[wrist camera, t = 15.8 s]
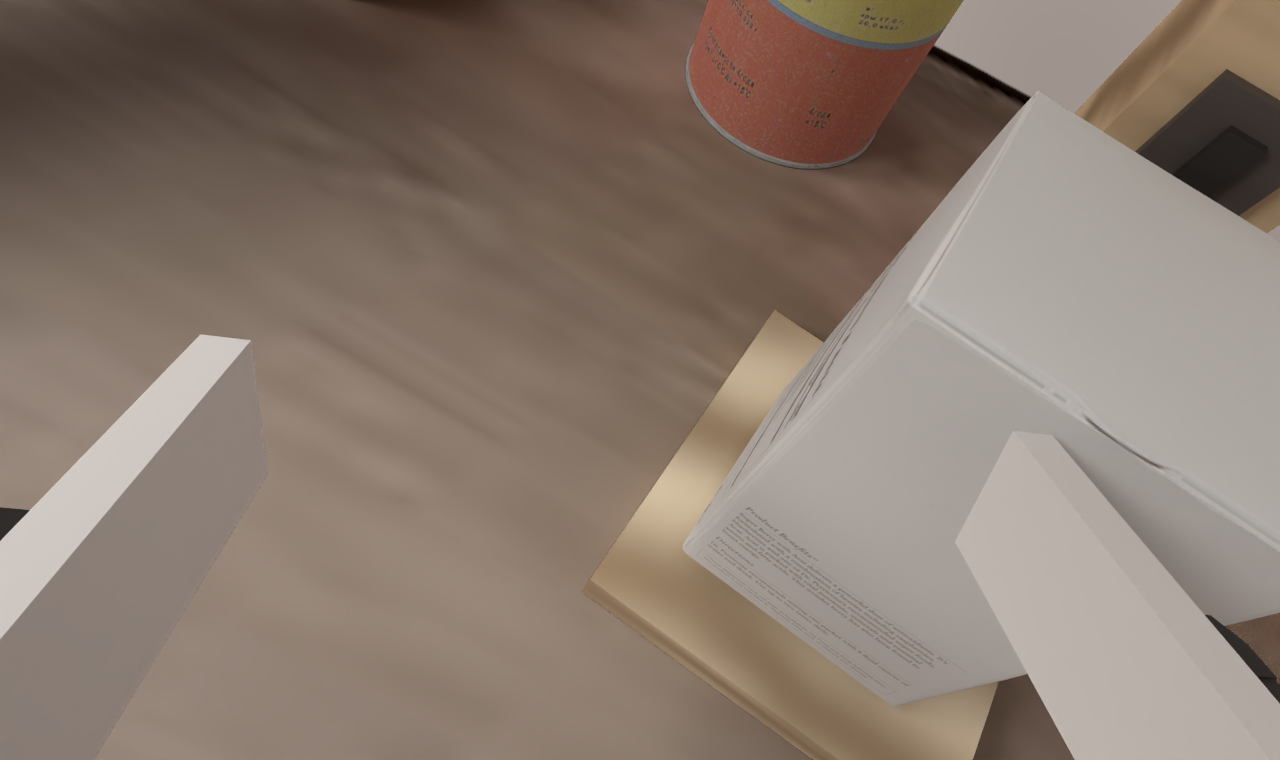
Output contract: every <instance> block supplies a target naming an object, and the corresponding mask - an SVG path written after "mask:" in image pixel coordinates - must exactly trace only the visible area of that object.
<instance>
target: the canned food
mask: <svg viewBox="0 0 1280 760" xmlns="http://www.w3.org/2000/svg"><path fill="white" fill-rule="evenodd" d="M962 2H963V0H708V2H707V5H706V8H705V11H704V14H703V17H702V20H701V23H700V26H699V29H698V32H697V35H696V38H695V41H694V43H693V45H692V47H691V49H690V51H689V54H688V57H687V62H686V80H687V85H688V88H689V91H690V94H691V96H692V98H693V100H694V102H695V104H696V106H697V107H698V109H699V110H700V112H701V113H702V115H703V116H704V117H705V118H706V120H707V121H708V122H709V123H710V124H711V125H712V126H713V127H714V128H715V129H716V130H717V131H718V132H719V133H720V134H722V135H723V136H724V137H725V138H726V139H728V140H729V141H731V142H732V143H733V144H735V145H736V146H738V147H740V148H741V149H743V150H745V151H747V152H748V153H750V154H752V155H755V156H757V157H759V158H761V159H764V160H767V161H769V162H772V163H776V164H779V165H783V166H788V167H794V168H801V169H823V168H830V167H835V166H839V165H842V164H845V163H847V162H849V161H851V160H853V159H855V158H856V157H858V156H859V155H860V154H861V153H863V152H864V151H865V150H866V149H867V147H868V146H869V145H870V143H871V142H872V140H873V139H874V137H875V134H876V132H877V130H878V128H879V127H880V125H881V124H882V122H883V121H884V119H885V118H886V116H887V115H888V113H889V112H890V110H891V108H892V107H893V105H894V104H895V102H896V101H897V99H898V98H899V96H900V95H901V93H902V92H903V90H904V89H905V87H906V86H907V84H908V83H909V81H910V80H911V78H912V77H913V75H914V74H915V72H916V71H917V69H918V68H919V66H920V65H921V63H922V62H923V60H924V59H925V57H926V56H927V54H928V53H929V51H930V50H931V48H932V47H933V45H934V44H935V42H936V41H937V39H938V38H939V36H940V35H941V33H942V32H943V30H944V29H945V27H946V26H947V24H948V23H949V21H950V20H951V18H952V17H953V15H954V13H955V12H956V11H957V9H958V8H959V6H960V5H961V3H962Z"/></svg>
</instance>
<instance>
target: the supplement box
mask: <svg viewBox="0 0 1280 760" xmlns="http://www.w3.org/2000/svg"><path fill="white" fill-rule="evenodd" d="M1013 431H1021V432H1029V433H1038V434H1046V435H1053V437H1054V438H1055V439H1056V440H1057V441H1058V443H1059V444H1060V445H1061V446H1062V447H1063V448H1064V450H1065V451H1066V452H1067V453H1068V454H1069V456H1070V457H1071V458H1072V459H1073V460H1074V461H1075V463H1076V464H1077V465H1078V466H1079V467H1080V469H1081V470H1082V471H1083V472H1084V473H1085V474H1086V476H1087V477H1088V478H1089V479H1090V480H1091V481H1092V483H1093V484H1094V485H1095V486H1096V487H1097V489H1098V490H1099V491H1100V492H1101V493H1102V494H1103V496H1104V497H1105V498H1106V499H1107V500H1108V502H1109V503H1110V504H1111V505H1112V506H1113V507H1114V509H1115V510H1116V511H1117V512H1118V513H1119V515H1120V516H1121V517H1122V518H1123V519H1124V520H1125V522H1126V523H1127V524H1128V525H1129V526H1130V528H1131V529H1132V530H1133V531H1134V532H1135V533H1136V535H1137V536H1138V537H1139V538H1140V539H1141V540H1142V542H1143V543H1144V544H1145V545H1146V546H1147V548H1148V549H1149V550H1150V551H1151V552H1152V553H1153V555H1154V556H1155V557H1156V558H1157V559H1158V561H1159V562H1160V563H1161V564H1162V565H1163V566H1164V568H1165V569H1166V570H1167V571H1168V572H1169V574H1170V575H1171V576H1172V577H1173V578H1174V579H1175V581H1176V582H1177V583H1178V584H1179V585H1180V586H1181V588H1182V589H1183V590H1184V591H1185V592H1186V594H1187V595H1188V596H1189V597H1190V598H1191V599H1192V601H1193V602H1194V603H1195V604H1196V605H1197V607H1198V608H1199V609H1200V610H1201V611H1202V612H1203V614H1204V615H1211V616H1212V617H1214V618H1215V619H1216V620H1217V621H1219V622H1220V623H1221V624H1222V625H1224V626H1226V625H1230V624H1235V623H1239V622H1244V621H1248V620H1252V619H1256V618H1260V617H1264V616H1268V615H1272V614H1276V613H1280V241H1278V240H1276V239H1275V238H1273V237H1272V236H1270V235H1268V234H1267V233H1265V232H1263V231H1262V230H1260V229H1259V228H1257V227H1255V226H1254V225H1252V224H1251V223H1249V222H1247V221H1246V220H1244V219H1243V218H1241V217H1239V216H1238V215H1236V214H1235V213H1233V212H1231V211H1230V210H1228V209H1226V208H1225V207H1223V206H1222V205H1220V204H1218V203H1217V202H1215V201H1213V200H1212V199H1210V198H1209V197H1207V196H1205V195H1204V194H1202V193H1200V192H1199V191H1197V190H1196V189H1194V188H1192V187H1191V186H1189V185H1187V184H1186V183H1184V182H1182V181H1181V180H1179V179H1178V178H1176V177H1174V176H1173V175H1171V174H1170V173H1168V172H1166V171H1165V170H1163V169H1162V168H1160V167H1158V166H1157V165H1155V164H1154V163H1152V162H1150V161H1149V160H1147V159H1146V158H1144V157H1142V156H1141V155H1139V154H1138V153H1136V152H1134V151H1133V150H1131V149H1130V148H1128V147H1126V146H1125V145H1123V144H1122V143H1120V142H1119V141H1117V140H1115V139H1114V138H1112V137H1111V136H1109V135H1107V134H1106V133H1104V132H1103V131H1101V130H1100V129H1098V128H1096V127H1095V126H1093V125H1092V124H1090V123H1089V122H1087V121H1085V120H1084V119H1082V118H1080V117H1079V116H1077V115H1076V114H1074V113H1072V112H1071V111H1069V110H1068V109H1066V108H1065V107H1063V106H1062V105H1060V104H1059V103H1057V102H1055V101H1054V100H1053V99H1051V98H1050V97H1048V96H1047V95H1045V94H1044V93H1042V92H1041V91H1037V92H1036V93H1034V94H1033V96H1032V97H1031V98H1030V99H1029V101H1028V102H1027V103H1026V104H1025V105H1024V106H1023V107H1022V108H1021V109H1020V110H1019V111H1018V112H1017V113H1016V115H1015V116H1014V117H1013V118H1012V119H1011V120H1010V121H1009V123H1008V124H1007V125H1006V126H1005V127H1004V128H1003V130H1002V131H1001V132H1000V133H999V134H998V135H997V136H996V138H995V139H994V140H993V141H992V142H991V144H990V145H989V146H988V147H987V148H986V149H985V151H984V152H983V153H982V154H981V155H980V157H979V158H978V159H977V160H976V161H975V162H974V164H973V165H972V166H971V167H970V168H969V170H968V171H967V172H966V173H965V174H964V175H963V177H962V178H961V179H960V180H959V181H958V183H957V184H956V185H955V186H954V187H953V189H952V190H951V191H950V192H949V193H948V195H947V196H946V197H945V198H944V199H943V201H942V202H941V203H940V204H939V206H938V207H937V208H936V209H935V210H934V212H933V213H932V214H931V215H930V216H929V218H928V219H927V220H926V221H925V223H924V224H923V225H922V226H921V227H920V228H919V230H918V231H917V232H916V233H915V234H914V236H913V237H912V238H911V239H910V240H909V242H908V243H907V244H906V245H905V246H904V247H903V249H902V250H901V251H900V252H899V253H898V255H897V256H896V257H895V258H894V259H893V261H892V262H891V263H890V264H889V265H888V267H887V268H886V269H885V270H884V271H883V273H882V274H881V275H880V276H879V277H878V279H877V280H876V281H875V282H874V283H873V285H872V286H871V287H870V288H869V289H868V291H867V292H866V293H865V294H864V295H863V297H862V298H861V299H860V300H859V301H858V303H857V304H856V305H855V306H854V307H853V308H852V310H851V311H850V312H849V313H848V314H847V316H846V317H845V318H844V319H843V320H842V321H841V323H840V324H839V325H838V326H837V327H836V329H835V330H834V331H833V332H832V333H831V335H830V336H829V337H828V338H827V339H826V340H825V342H824V343H823V344H822V345H821V346H820V348H819V349H818V350H817V351H816V352H815V353H814V355H813V356H812V357H811V358H810V359H809V361H808V362H807V363H806V364H805V365H804V366H803V368H802V369H801V370H800V371H799V372H798V374H797V375H796V376H795V377H794V378H793V379H792V380H791V382H790V383H789V384H788V385H787V386H786V387H785V388H784V390H783V391H782V392H781V394H780V395H779V397H778V398H777V400H776V401H775V403H774V404H773V406H772V408H771V409H770V411H769V412H768V414H767V415H766V417H765V418H764V420H763V421H762V423H761V424H760V426H759V428H758V429H757V431H756V432H755V434H754V435H753V437H752V438H751V440H750V441H749V443H748V445H747V446H746V448H745V449H744V451H743V452H742V454H741V455H740V457H739V458H738V460H737V462H736V463H735V465H734V466H733V468H732V469H731V471H730V472H729V474H728V475H727V477H726V478H725V480H724V481H723V483H722V485H721V486H720V488H719V489H718V491H717V492H716V494H715V495H714V497H713V498H712V500H711V501H710V503H709V504H708V506H707V507H706V509H705V511H704V512H703V514H702V515H701V517H700V518H699V520H698V521H697V523H696V524H695V526H694V527H693V529H692V531H691V532H690V534H689V535H688V537H687V539H686V540H685V542H684V543H683V550H684V551H685V553H686V554H687V555H689V556H690V557H691V558H692V559H694V560H695V561H696V562H698V563H699V564H701V565H702V566H703V567H705V568H706V569H707V570H709V571H710V572H711V573H713V574H714V575H715V576H717V577H718V578H719V579H721V580H722V581H723V582H725V583H726V584H727V585H729V586H730V587H731V588H733V589H734V590H735V591H737V592H738V593H740V594H741V595H742V596H744V597H745V598H746V599H748V600H749V601H750V602H752V603H753V604H754V605H756V606H757V607H758V608H760V609H761V610H762V611H764V612H765V613H766V614H768V615H769V616H771V617H772V618H773V619H775V620H776V621H777V622H779V623H780V624H781V625H783V626H784V627H785V628H787V629H788V630H789V631H791V632H792V633H793V634H795V635H796V636H797V637H799V638H800V639H801V640H803V641H804V642H805V643H807V644H808V645H809V646H811V647H812V648H813V649H815V650H816V651H817V652H819V653H820V654H821V655H823V656H824V657H826V658H827V659H828V660H830V661H831V662H832V663H834V664H835V665H836V666H838V667H839V668H840V669H842V670H843V671H844V672H846V673H847V674H848V675H850V676H851V677H853V678H854V679H855V680H857V681H858V682H859V683H861V684H862V685H863V686H865V687H866V688H867V689H869V690H870V691H871V692H873V693H874V694H876V695H877V696H878V697H880V698H881V699H882V700H884V701H885V702H887V703H888V704H890V705H892V706H900V705H904V704H908V703H912V702H916V701H920V700H924V699H928V698H932V697H936V696H941V695H945V694H949V693H953V692H957V691H961V690H965V689H969V688H973V687H977V686H982V685H987V684H990V683H994V682H998V681H1002V680H1007V679H1010V678H1014V677H1018V676H1022V675H1026V674H1027V672H1026V670H1025V668H1024V666H1023V665H1022V663H1021V661H1020V659H1019V657H1018V656H1017V654H1016V652H1015V650H1014V648H1013V646H1012V645H1011V643H1010V641H1009V639H1008V637H1007V636H1006V634H1005V632H1004V630H1003V628H1002V626H1001V625H1000V623H999V621H998V619H997V617H996V616H995V614H994V612H993V610H992V608H991V606H990V605H989V603H988V601H987V599H986V597H985V595H984V594H983V592H982V590H981V588H980V586H979V585H978V583H977V581H976V579H975V577H974V575H973V574H972V572H971V570H970V568H969V566H968V565H967V563H966V561H965V559H964V557H963V555H962V554H961V552H960V550H959V548H958V546H957V545H956V543H955V541H956V539H957V537H958V535H959V533H960V531H961V529H962V527H963V526H964V524H965V522H966V520H967V518H968V516H969V514H970V512H971V510H972V508H973V506H974V504H975V503H976V501H977V499H978V497H979V495H980V493H981V491H982V489H983V487H984V485H985V483H986V481H987V480H988V478H989V476H990V474H991V472H992V470H993V468H994V466H995V464H996V462H997V460H998V459H999V457H1000V455H1001V453H1002V451H1003V449H1004V447H1005V445H1006V443H1007V441H1008V439H1009V437H1010V436H1011V434H1012V432H1013Z"/></svg>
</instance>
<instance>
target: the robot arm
mask: <svg viewBox="0 0 1280 760" xmlns="http://www.w3.org/2000/svg"><path fill="white" fill-rule="evenodd" d="M267 474H268V471H267V463H266V455H265V447H264V439H263V432H262V424H261V416H260V408H259V400H258V393H257V385H256V377H255V369H254V361H253V353H252V346H251V340H243V339H234V338H226V337H217V336H209V335H199V337H198V338H197V339H196V340H195V341H194V342H193V343H192V344H191V345H190V346H189V347H188V348H187V349H186V350H185V351H184V352H183V353H182V354H181V355H180V356H179V357H178V358H177V359H176V360H175V361H174V362H173V363H172V364H171V365H170V366H169V367H168V368H167V370H166V371H165V372H164V373H163V374H162V375H161V376H160V377H159V378H158V379H157V380H156V381H155V382H154V383H153V384H152V385H151V386H150V387H149V388H148V389H147V390H146V391H145V392H144V393H143V394H142V395H141V396H140V397H139V398H138V399H137V400H136V401H135V402H134V404H133V405H132V406H131V407H130V408H129V409H128V410H127V411H126V412H125V413H124V414H123V415H122V416H121V417H120V418H119V419H118V420H117V421H116V422H115V423H114V424H113V425H112V426H111V427H110V428H109V429H108V430H107V431H106V432H105V433H104V434H103V435H102V437H101V438H100V439H99V440H98V441H97V442H96V443H95V444H94V445H93V446H92V447H91V448H90V449H89V450H88V451H87V452H86V453H85V454H84V455H83V456H82V457H81V458H80V459H79V460H78V461H77V462H76V463H75V464H74V465H73V466H72V467H71V468H70V469H69V471H68V472H67V473H66V474H65V475H64V476H63V477H62V478H61V479H60V480H59V481H58V482H57V483H56V484H55V485H54V486H53V487H52V488H51V489H50V490H49V491H48V492H47V493H46V494H45V495H44V496H43V497H42V498H41V499H40V500H39V501H38V502H37V504H36V505H35V506H34V507H33V508H32V509H31V510H22V509H11V508H0V760H94V758H95V757H96V755H97V754H98V752H99V750H100V749H101V747H102V745H103V744H104V742H105V740H106V739H107V737H108V735H109V734H110V732H111V731H112V729H113V727H114V726H115V724H116V722H117V721H118V719H119V717H120V716H121V714H122V712H123V711H124V709H125V708H126V706H127V704H128V703H129V701H130V699H131V698H132V696H133V694H134V693H135V691H136V689H137V688H138V686H139V685H140V683H141V681H142V680H143V678H144V676H145V675H146V673H147V671H148V670H149V668H150V667H151V665H152V663H153V662H154V660H155V658H156V657H157V655H158V653H159V652H160V650H161V648H162V647H163V645H164V644H165V642H166V640H167V639H168V637H169V635H170V634H171V632H172V630H173V629H174V627H175V625H176V624H177V622H178V621H179V619H180V617H181V616H182V614H183V612H184V611H185V609H186V607H187V606H188V604H189V602H190V601H191V599H192V598H193V596H194V594H195V593H196V591H197V589H198V588H199V586H200V584H201V583H202V581H203V579H204V578H205V576H206V575H207V573H208V571H209V570H210V568H211V566H212V565H213V563H214V561H215V560H216V558H217V556H218V555H219V553H220V552H221V550H222V548H223V547H224V545H225V543H226V542H227V540H228V538H229V537H230V535H231V534H232V532H233V530H234V529H235V527H236V525H237V524H238V522H239V520H240V519H241V517H242V515H243V514H244V512H245V511H246V509H247V507H248V506H249V504H250V502H251V501H252V499H253V497H254V496H255V494H256V492H257V491H258V489H259V488H260V486H261V484H262V483H263V481H264V479H265V478H266V476H267ZM955 543H956V545H957V546H958V548H959V550H960V552H961V554H962V555H963V557H964V559H965V561H966V563H967V565H968V566H969V568H970V570H971V572H972V574H973V575H974V577H975V579H976V581H977V583H978V585H979V586H980V588H981V590H982V592H983V594H984V595H985V597H986V599H987V601H988V603H989V605H990V606H991V608H992V610H993V612H994V614H995V616H996V617H997V619H998V621H999V623H1000V625H1001V626H1002V628H1003V630H1004V632H1005V634H1006V636H1007V637H1008V639H1009V641H1010V643H1011V645H1012V646H1013V648H1014V650H1015V652H1016V654H1017V656H1018V657H1019V659H1020V661H1021V663H1022V665H1023V666H1024V668H1025V670H1026V672H1027V674H1028V676H1029V677H1030V679H1031V681H1032V683H1033V685H1034V687H1035V688H1036V690H1037V692H1038V694H1039V696H1040V697H1041V699H1042V701H1043V703H1044V705H1045V707H1046V708H1047V710H1048V712H1049V714H1050V716H1051V717H1052V719H1053V721H1054V723H1055V725H1056V727H1057V728H1058V730H1059V732H1060V734H1061V736H1062V737H1063V739H1064V741H1065V743H1066V745H1067V747H1068V748H1069V750H1070V752H1071V754H1072V756H1073V758H1074V759H1075V760H1280V684H1277V682H1276V679H1277V678H1276V676H1275V675H1274V674H1273V673H1272V672H1271V671H1270V670H1269V668H1268V667H1267V666H1266V665H1265V664H1264V663H1263V662H1262V660H1261V659H1260V658H1259V657H1258V656H1257V655H1256V653H1255V652H1254V651H1253V650H1252V649H1251V648H1250V647H1249V645H1248V644H1246V643H1245V642H1244V641H1243V640H1241V639H1240V638H1239V637H1238V636H1236V635H1235V634H1234V633H1232V632H1231V631H1230V630H1229V629H1227V628H1226V627H1225V626H1224V625H1222V624H1221V623H1220V622H1219V621H1217V620H1216V619H1215V618H1214V617H1212V616H1211V615H1204V614H1203V612H1202V611H1201V610H1200V609H1199V608H1198V607H1197V605H1196V604H1195V603H1194V602H1193V601H1192V599H1191V598H1190V597H1189V596H1188V595H1187V594H1186V592H1185V591H1184V590H1183V589H1182V588H1181V586H1180V585H1179V584H1178V583H1177V582H1176V581H1175V579H1174V578H1173V577H1172V576H1171V575H1170V574H1169V572H1168V571H1167V570H1166V569H1165V568H1164V566H1163V565H1162V564H1161V563H1160V562H1159V561H1158V559H1157V558H1156V557H1155V556H1154V555H1153V553H1152V552H1151V551H1150V550H1149V549H1148V548H1147V546H1146V545H1145V544H1144V543H1143V542H1142V540H1141V539H1140V538H1139V537H1138V536H1137V535H1136V533H1135V532H1134V531H1133V530H1132V529H1131V528H1130V526H1129V525H1128V524H1127V523H1126V522H1125V520H1124V519H1123V518H1122V517H1121V516H1120V515H1119V513H1118V512H1117V511H1116V510H1115V509H1114V507H1113V506H1112V505H1111V504H1110V503H1109V502H1108V500H1107V499H1106V498H1105V497H1104V496H1103V494H1102V493H1101V492H1100V491H1099V490H1098V489H1097V487H1096V486H1095V485H1094V484H1093V483H1092V481H1091V480H1090V479H1089V478H1088V477H1087V476H1086V474H1085V473H1084V472H1083V471H1082V470H1081V469H1080V467H1079V466H1078V465H1077V464H1076V463H1075V461H1074V460H1073V459H1072V458H1071V457H1070V456H1069V454H1068V453H1067V452H1066V451H1065V450H1064V448H1063V447H1062V446H1061V445H1060V444H1059V443H1058V441H1057V440H1056V439H1055V438H1054V437H1053V435H1046V434H1038V433H1029V432H1021V431H1013V432H1012V434H1011V436H1010V437H1009V439H1008V441H1007V443H1006V445H1005V447H1004V449H1003V451H1002V453H1001V455H1000V457H999V459H998V460H997V462H996V464H995V466H994V468H993V470H992V472H991V474H990V476H989V478H988V480H987V481H986V483H985V485H984V487H983V489H982V491H981V493H980V495H979V497H978V499H977V501H976V503H975V504H974V506H973V508H972V510H971V512H970V514H969V516H968V518H967V520H966V522H965V524H964V526H963V527H962V529H961V531H960V533H959V535H958V537H957V539H956V541H955Z"/></svg>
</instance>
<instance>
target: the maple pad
mask: <svg viewBox="0 0 1280 760" xmlns="http://www.w3.org/2000/svg"><path fill="white" fill-rule="evenodd" d="M823 343H824V342H822V341H821V340H819V339H818V338H816V337H815V336H813V335H812V334H810V333H809V332H807V331H806V330H804V329H803V328H801V327H800V326H798V325H797V324H795V323H794V322H792V321H791V320H789V319H788V318H786V317H785V316H783V315H782V314H780V313H779V312H777V311H776V310H774V311H773V313H772V314H771V316H770V317H769V319H768V320H767V321H766V323H765V324H764V326H763V327H762V329H761V330H760V331H759V333H758V334H757V336H756V337H755V339H754V340H753V342H752V343H751V345H750V346H749V347H748V349H747V350H746V352H745V353H744V355H743V356H742V358H741V359H740V361H739V362H738V364H737V365H736V366H735V368H734V369H733V371H732V372H731V374H730V375H729V377H728V378H727V380H726V381H725V382H724V384H723V385H722V387H721V388H720V390H719V391H718V393H717V394H716V396H715V397H714V399H713V400H712V401H711V403H710V404H709V406H708V407H707V409H706V410H705V412H704V413H703V415H702V416H701V418H700V419H699V420H698V422H697V423H696V425H695V426H694V428H693V429H692V431H691V432H690V434H689V435H688V437H687V438H686V439H685V441H684V442H683V444H682V445H681V447H680V448H679V450H678V451H677V453H676V454H675V456H674V457H673V458H672V460H671V461H670V463H669V464H668V466H667V467H666V469H665V470H664V472H663V473H662V475H661V476H660V477H659V479H658V480H657V482H656V483H655V485H654V486H653V488H652V489H651V491H650V492H649V494H648V495H647V496H646V498H645V499H644V501H643V502H642V504H641V505H640V507H639V508H638V510H637V511H636V513H635V514H634V515H633V517H632V518H631V520H630V521H629V523H628V524H627V526H626V527H625V529H624V530H623V531H622V533H621V534H620V536H619V537H618V539H617V540H616V542H615V543H614V545H613V546H612V548H611V549H610V550H609V552H608V553H607V555H606V556H605V558H604V559H603V561H602V562H601V564H600V565H599V567H598V568H597V569H596V571H595V572H594V574H593V575H592V577H591V578H590V580H589V581H588V583H587V584H586V586H585V587H584V588H583V590H582V591H581V592H583V593H584V594H586V595H587V596H588V597H590V598H591V599H592V600H594V601H595V602H597V603H598V604H599V605H601V606H602V607H603V608H605V609H606V610H608V611H609V612H610V613H612V614H613V615H614V616H616V617H617V618H619V619H620V620H621V621H623V622H624V623H625V624H627V625H628V626H630V627H631V628H632V629H634V630H635V631H636V632H638V633H639V634H641V635H642V636H643V637H645V638H646V639H647V640H649V641H650V642H652V643H653V644H654V645H656V646H657V647H658V648H660V649H661V650H663V651H664V652H665V653H667V654H668V655H670V656H671V657H672V658H674V659H675V660H676V661H678V662H679V663H681V664H682V665H683V666H685V667H686V668H687V669H689V670H690V671H692V672H693V673H694V674H696V675H697V676H698V677H700V678H701V679H703V680H704V681H705V682H707V683H708V684H709V685H711V686H712V687H714V688H715V689H716V690H718V691H719V692H720V693H722V694H723V695H725V696H726V697H727V698H729V699H730V700H731V701H733V702H734V703H736V704H737V705H738V706H740V707H741V708H742V709H744V710H745V711H747V712H748V713H749V714H751V715H752V716H753V717H755V718H756V719H758V720H759V721H760V722H762V723H763V724H764V725H766V726H767V727H769V728H770V729H771V730H773V731H774V732H776V733H777V734H778V735H780V736H781V737H782V738H784V739H785V740H787V741H788V742H789V743H791V744H792V745H793V746H795V747H796V748H798V749H799V750H800V751H802V752H803V753H804V754H806V755H807V756H809V757H810V758H811V759H813V760H973V758H974V755H975V752H976V749H977V746H978V743H979V740H980V737H981V734H982V731H983V728H984V725H985V722H986V719H987V716H988V713H989V710H990V707H991V704H992V701H993V698H994V695H995V692H996V689H997V686H998V683H999V681H998V682H994V683H990V684H987V685H982V686H977V687H973V688H969V689H965V690H961V691H957V692H953V693H949V694H945V695H941V696H936V697H932V698H928V699H924V700H920V701H916V702H912V703H908V704H904V705H900V706H892V705H890V704H888V703H887V702H885V701H884V700H882V699H881V698H880V697H878V696H877V695H876V694H874V693H873V692H871V691H870V690H869V689H867V688H866V687H865V686H863V685H862V684H861V683H859V682H858V681H857V680H855V679H854V678H853V677H851V676H850V675H848V674H847V673H846V672H844V671H843V670H842V669H840V668H839V667H838V666H836V665H835V664H834V663H832V662H831V661H830V660H828V659H827V658H826V657H824V656H823V655H821V654H820V653H819V652H817V651H816V650H815V649H813V648H812V647H811V646H809V645H808V644H807V643H805V642H804V641H803V640H801V639H800V638H799V637H797V636H796V635H795V634H793V633H792V632H791V631H789V630H788V629H787V628H785V627H784V626H783V625H781V624H780V623H779V622H777V621H776V620H775V619H773V618H772V617H771V616H769V615H768V614H766V613H765V612H764V611H762V610H761V609H760V608H758V607H757V606H756V605H754V604H753V603H752V602H750V601H749V600H748V599H746V598H745V597H744V596H742V595H741V594H740V593H738V592H737V591H735V590H734V589H733V588H731V587H730V586H729V585H727V584H726V583H725V582H723V581H722V580H721V579H719V578H718V577H717V576H715V575H714V574H713V573H711V572H710V571H709V570H707V569H706V568H705V567H703V566H702V565H701V564H699V563H698V562H696V561H695V560H694V559H692V558H691V557H690V556H689V555H687V554H686V553H685V551H684V550H683V543H684V542H685V540H686V539H687V537H688V535H689V534H690V532H691V531H692V529H693V527H694V526H695V524H696V523H697V521H698V520H699V518H700V517H701V515H702V514H703V512H704V511H705V509H706V507H707V506H708V504H709V503H710V501H711V500H712V498H713V497H714V495H715V494H716V492H717V491H718V489H719V488H720V486H721V485H722V483H723V481H724V480H725V478H726V477H727V475H728V474H729V472H730V471H731V469H732V468H733V466H734V465H735V463H736V462H737V460H738V458H739V457H740V455H741V454H742V452H743V451H744V449H745V448H746V446H747V445H748V443H749V441H750V440H751V438H752V437H753V435H754V434H755V432H756V431H757V429H758V428H759V426H760V424H761V423H762V421H763V420H764V418H765V417H766V415H767V414H768V412H769V411H770V409H771V408H772V406H773V404H774V403H775V401H776V400H777V398H778V397H779V395H780V394H781V392H782V391H783V390H784V388H785V387H786V386H787V385H788V384H789V383H790V382H791V380H792V379H793V378H794V377H795V376H796V375H797V374H798V372H799V371H800V370H801V369H802V368H803V366H804V365H805V364H806V363H807V362H808V361H809V359H810V358H811V357H812V356H813V355H814V353H815V352H816V351H817V350H818V349H819V348H820V346H821V345H822V344H823Z"/></svg>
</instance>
